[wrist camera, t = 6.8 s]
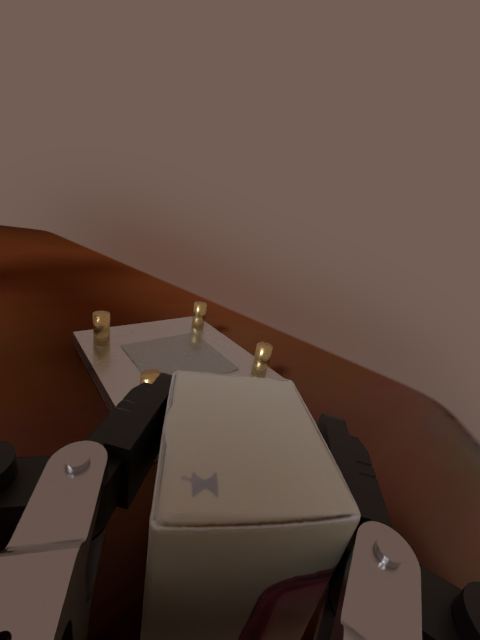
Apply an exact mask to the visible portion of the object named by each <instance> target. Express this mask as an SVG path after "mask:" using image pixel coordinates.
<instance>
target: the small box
mask: <svg viewBox="0 0 480 640" xmlns="http://www.w3.org/2000/svg"><path fill="white" fill-rule="evenodd" d="M360 517H361V514H360V511H359V508H358V506H357V504H356V502H355V500H354V498H353V496H352V494H351V492H350V490H349V488H348V486H347V483H346V482H345V480H344V478H343V476H342V473H341V472H340V470H339V468H338V466H337V464H336V462H335V460H334V458H333V456H332V454H331V452H330V450H329V448H328V446H327V444H326V442H325V440H324V439H323V437H322V435H321V433H320V431H319V429H318V427H317V425H316V423H315V421H314V419H313V418H312V416H311V414H310V412H309V411H308V409H307V407H306V405H305V403H304V401H303V399H302V398H301V396H300V394H299V392H298V391H297V389H296V387H295V385H294V383H293V382H292V381H291V380H286V379H271V378H258V377H257V378H256V377H248V376H236V375H226V374H214V373H204V372H192V371H182V370H178V371H175V372H174V373H173V375H172V379H171V385H170V390H169V395H168V401H167V407H166V413H165V419H164V424H163V430H162V437H161V445H160V452H159V459H158V466H157V473H156V480H155V487H154V494H153V502H152V509H151V514H150V519H149V537H148V551H147V562H146V574H145V586H144V599H143V612H142V625H141V636H140V640H301V638H302V636H303V634H304V631H305V629H306V627H307V625H308V623H309V621H310V619H311V617H312V615H313V613H314V611H315V609H316V607H317V605H318V603H319V601H320V599H321V597H322V595H323V593H324V591H325V589H326V587H327V585H328V583H329V581H330V579H331V577H332V575H333V573H334V571H335V569H336V567H337V565H338V563H339V561H340V559H341V557H342V555H343V553H344V551H345V549H346V547H347V545H348V543H349V541H350V539H351V537H352V535H353V533H354V531H355V529H356V527H357V525H358V523H359V521H360Z"/></svg>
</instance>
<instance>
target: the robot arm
mask: <svg viewBox="0 0 480 640" xmlns="http://www.w3.org/2000/svg"><path fill="white" fill-rule="evenodd" d="M171 379H172V375H171V374H167V373H161V374H160V375H159V376H158V377H157V378H156V380H155V381H154V382H153V383H152V384H150V383H146V382H144V383H142V384H140V385H138V386H136V387H134V388H132V389H131V390H130V391H129V392H128V393H127V395H126V396H125V397H124V398H123V400H121V401H120V402H119V403H118V405H117V406H116V408H114V409H113V410H112V411H111V412H110V413H109V414H108V416H107V417H106V418H105V419H104V420H103V421H102V422H101V423H100V424H99V425H98V427H97V428H96V429H95V430H94V431H93V432H92V433H91V434H90V435H89V436H88V438H87V439H86V440H85V441H79V442H74V443H71V444H69V445H66V446H64V447H63V448H61V449H59V450H58V451H57V452H56V453H54V454H53V455H52V456H47V457H16V455H15V450H14V447H13V446H12V445H11V444H10V443H7V442H5V441H0V640H87V634H88V625H89V616H90V610H91V604H92V599H93V594H94V590H95V585H96V580H97V575H98V570H99V565H100V560H101V555H102V550H103V545H104V541H105V536H106V531H107V524H108V520H109V518H110V516H111V515H112V513H113V511H114V510H115V508H116V506H118V507H121V508H125V509H128V508H129V506H130V504H131V502H132V500H133V499H134V497H135V495H136V493H137V491H138V490H139V488H140V486H141V484H142V482H143V480H144V479H145V477H146V475H147V473H148V471H149V470H150V468H151V466H152V464H153V462H154V460H155V459H156V457H157V455H158V453H159V451H160V445H161V437H162V430H163V424H164V419H165V413H166V407H167V401H168V395H169V390H170V385H171ZM317 427H318V429H319V431H320V433H321V435H322V437H323V439H324V440H325V442H326V444H327V446H328V448H329V450H330V452H331V454H332V456H333V458H334V460H335V462H336V464H337V466H338V468H339V470H340V472H341V473H342V476H343V478H344V480H345V482H346V483H347V486H348V488H349V490H350V492H351V494H352V496H353V498H354V500H355V502H356V504H357V506H358V508H359V511H360V514H361V517H360V521H359V523H358V525H357V527H356V529H355V531H354V533H353V535H352V537H351V539H350V541H349V543H348V545H347V547H346V549H345V551H344V553H343V555H342V557H341V559H340V561H339V563H338V565H337V567H336V569H335V571H334V573H333V575H332V577H331V579H330V581H329V586H328V588H327V590H326V592H325V595H324V598H323V602H322V606H321V610H320V614H319V618H318V622H317V626H316V630H315V634H314V638H313V640H480V582H471V583H468V584H467V585H466V586H465V587H464V589H463V590H461V589H459V588H457V587H456V586H454V585H452V584H451V583H449V582H447V581H446V580H444V579H442V578H441V577H439V576H438V575H436V574H434V573H433V572H431V571H429V570H428V569H426V568H425V567H423V566H422V565H421V564H420V563H419V562H418V560H417V557H416V555H415V554H414V552H413V550H412V549H411V547H410V546H409V544H408V543H407V542H406V541H405V540H404V539H403V537H402V536H401V535H399V534H398V533H397V532H396V531H395V530H393V527H392V525H391V521H390V518H389V515H388V512H387V509H386V506H385V503H384V500H383V497H382V494H381V491H380V488H379V485H378V482H377V480H376V475H375V472H374V469H373V468H372V463H371V460H370V457H369V454H368V451H367V450H366V448H365V447H364V446H363V444H362V443H361V442H360V440H359V439H358V438H357V437H353V436H349V433H348V429H347V426H346V422H345V420H344V419H343V418H339V417H335V416H331V415H327V414H322V415H321V416H320V419H319V421H318V424H317Z"/></svg>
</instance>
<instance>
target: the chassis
mask: <svg viewBox="0 0 480 640" xmlns="http://www.w3.org/2000/svg"><path fill="white" fill-rule="evenodd" d="M206 307H207V304H206V303H204V302H195V303H194V310H193V316H192V317H184V318H176V319H169V320H161V321H153V322H146V323H138V324H130V325H123V326H115V327H110V312H108V311H95V312H93V329H92V330H84V331H76V332H73V345H74V347H75V349H76V350H77V352H78V354H79V356H80V358H81V360H82V362H83V363H84V365H85V367H86V369H87V371H88V373H89V375H90V376H91V378H92V380H93V382H94V384H95V386H96V388H97V389H98V391H99V393H100V395H101V397H102V399H103V401H104V403H105V404H106V406H107V408H108V410H109V412H111V411H112V410H113V409H114V408H116V406H117V405H118V403H119V402H120V401H121V400H123V398H124V397H125V396H126V395H127V393H128V392H129V391H130V390H131V389H132V388H134V387H136V386H138V385H140V384H142V383H144V382H146V383H150V384H152V383H153V382H154V381H155V380H156V378H157V377H158V376H159V375H160V374H161V373H167V374H171V375H173V373H174V372H175V371H178V370H182V371H192V372H204V373H214V374H226V375H236V376H248V377H256V378H257V377H258V378H271V379H285V378H283V377H282V376H280V375H279V374H278V373H276V372H275V371H273V370H272V369H271V368H269V367H268V364H269V360H270V356H271V352H272V348H273V347H272V345H271V344H269V343H266V342H259V343H257V347H256V352H255V356H252V355H251V354H250V353H248V352H247V351H245V350H244V349H243V348H241V347H240V346H238V345H237V344H236V343H234V342H233V341H231V340H230V339H229V338H227V337H226V336H224V335H223V334H222V333H220V332H219V331H217V330H216V329H215V328H213V327H212V326H210V325H209V324H208V323H206V322H205V314H206ZM159 452H160V451H159ZM158 459H159V453H158V455H157V457H156V459H155V460H154V462H153V463H155V462H157V461H158Z"/></svg>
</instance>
